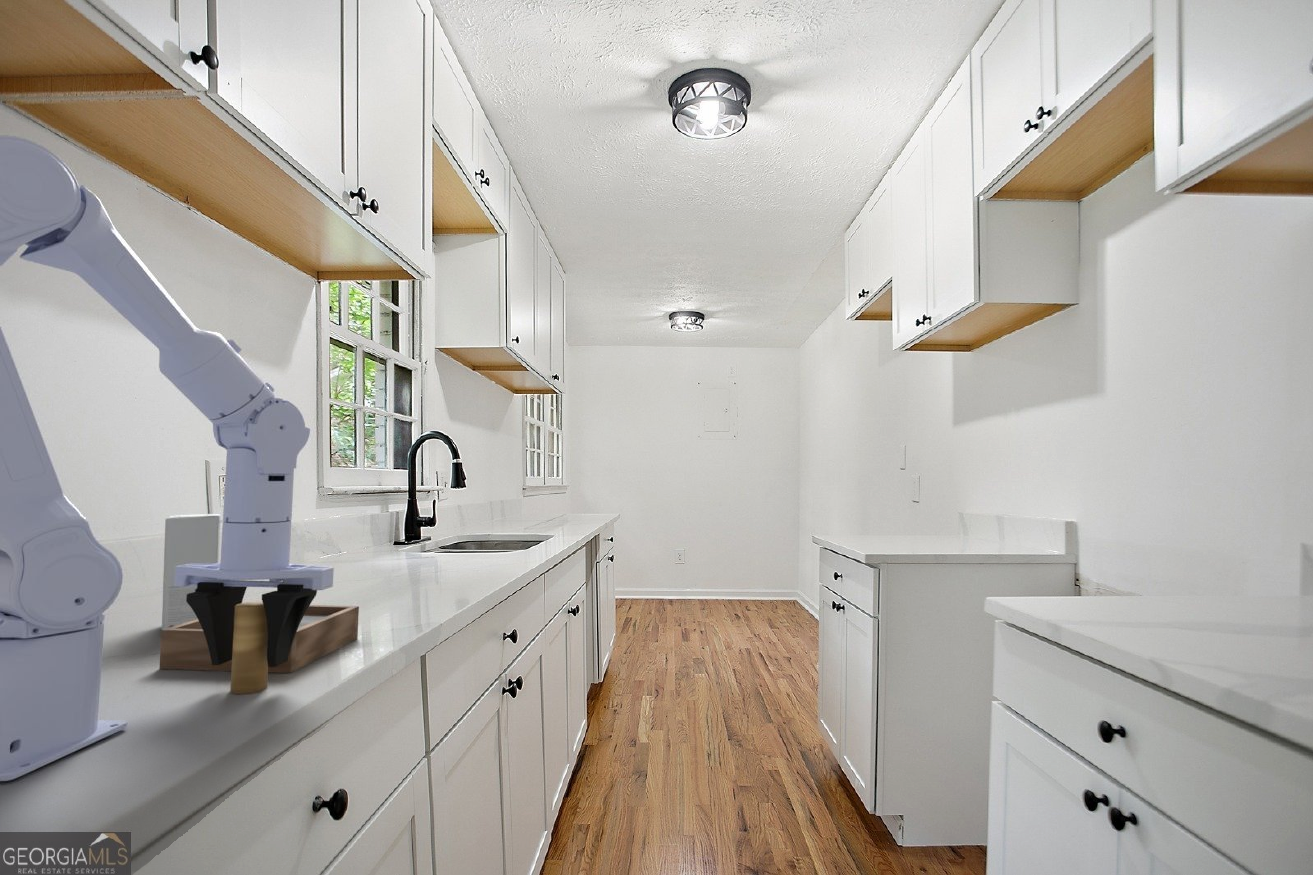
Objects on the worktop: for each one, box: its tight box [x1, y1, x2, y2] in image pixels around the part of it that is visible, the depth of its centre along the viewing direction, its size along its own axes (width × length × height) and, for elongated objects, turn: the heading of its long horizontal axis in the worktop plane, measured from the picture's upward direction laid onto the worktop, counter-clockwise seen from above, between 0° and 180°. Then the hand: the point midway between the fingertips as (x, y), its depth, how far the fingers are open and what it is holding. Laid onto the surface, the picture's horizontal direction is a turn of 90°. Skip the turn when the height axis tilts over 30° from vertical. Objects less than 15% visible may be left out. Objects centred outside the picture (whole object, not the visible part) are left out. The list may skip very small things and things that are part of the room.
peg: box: [229, 600, 269, 695], centre depth 62 cm, size 3×3×8 cm
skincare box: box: [161, 513, 221, 631], centre depth 85 cm, size 8×6×15 cm
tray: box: [158, 604, 360, 674], centre depth 75 cm, size 14×14×4 cm
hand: (250, 663), depth 62 cm, fingers open, 5 cm apart
